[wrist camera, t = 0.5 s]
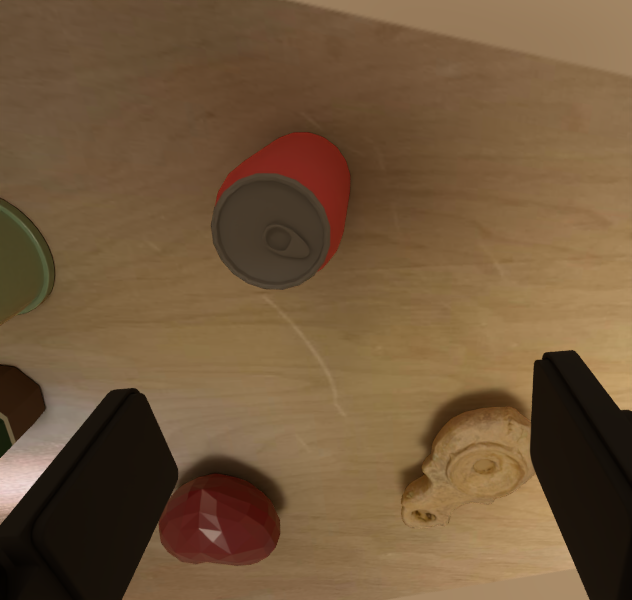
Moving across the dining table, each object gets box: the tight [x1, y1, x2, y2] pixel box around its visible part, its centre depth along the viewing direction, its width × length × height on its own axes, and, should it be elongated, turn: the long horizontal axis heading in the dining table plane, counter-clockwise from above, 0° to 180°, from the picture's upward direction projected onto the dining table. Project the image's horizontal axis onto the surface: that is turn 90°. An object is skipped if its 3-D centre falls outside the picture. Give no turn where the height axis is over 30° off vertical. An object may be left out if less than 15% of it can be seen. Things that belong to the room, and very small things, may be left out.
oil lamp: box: [401, 406, 535, 528], centre depth 38 cm, size 11×14×5 cm
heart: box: [159, 473, 280, 566], centre depth 42 cm, size 12×8×10 cm
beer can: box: [211, 132, 350, 290], centre depth 25 cm, size 7×7×12 cm
